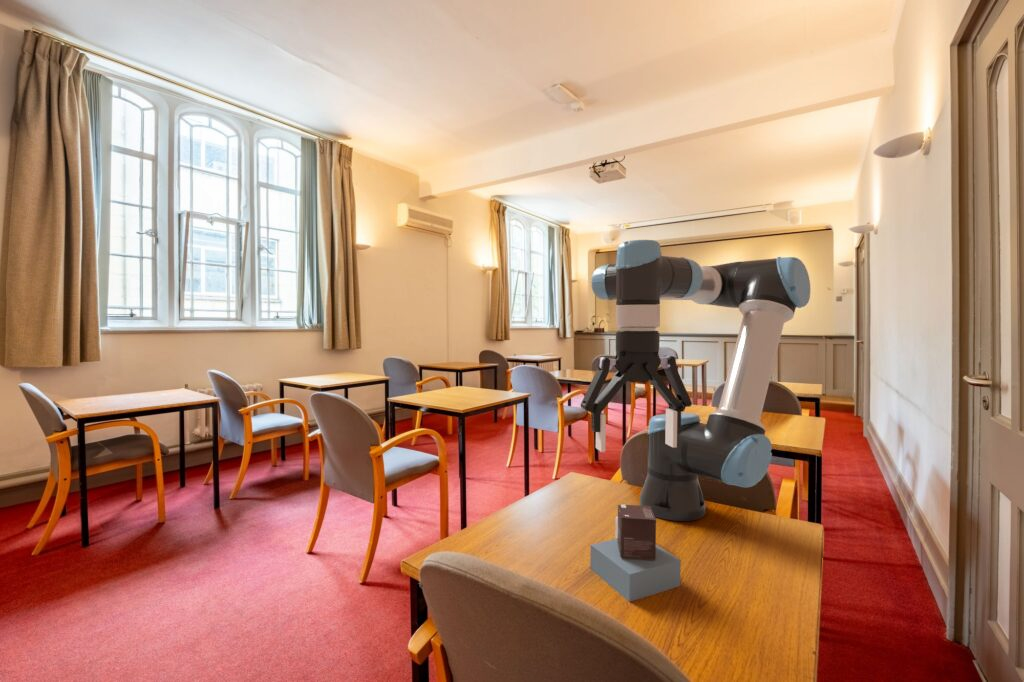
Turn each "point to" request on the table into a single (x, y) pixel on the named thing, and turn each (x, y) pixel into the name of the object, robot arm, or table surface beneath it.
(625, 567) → the slate block
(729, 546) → the table surface
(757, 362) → the robot arm
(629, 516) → the box
